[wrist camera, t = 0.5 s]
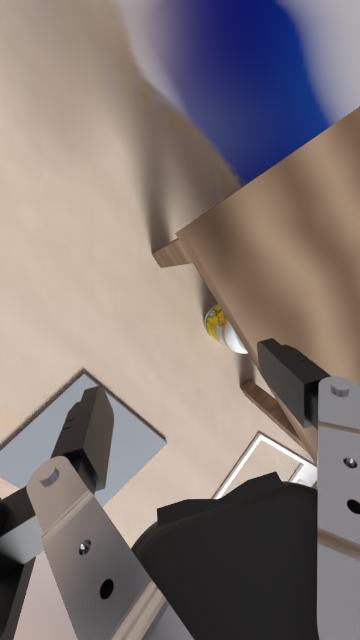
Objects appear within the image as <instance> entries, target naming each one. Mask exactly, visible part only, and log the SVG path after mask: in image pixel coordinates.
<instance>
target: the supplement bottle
mask: <svg viewBox="0 0 360 640" xmlns="http://www.w3.org/2000/svg"><path fill="white" fill-rule="evenodd" d="M204 324H205V329H206V331H207V333H208V334H209V336H211V337H212V338H213V339H215V340H216V341H218V342H220V343H221V344H223V345H225V346H226V347H228V348H230V349H231V350H233V351H235V352H237V353H242V354H246V353H248V352H247V350H246V349H245V347H244V345H243V344H242V342H241V341H240V339H239V337H238V336H237V334H236V332H235V331H234V329H233V327H232V326H231V324H230V322H229V321H228V319H227V318H226V316H225V314H224V313H223V311H222V309H221V308H220V306H219V304H217V305H215V306H213V307H212V308H211V309H210V310H209V312H208V313H207V315H206V317H205V321H204Z"/></svg>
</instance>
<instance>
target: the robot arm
mask: <svg viewBox="0 0 360 640" xmlns="http://www.w3.org/2000/svg"><path fill="white" fill-rule="evenodd" d="M257 352H258V362H259V369H260V373H261V375H262V377H263V379H264V380H265V381H266V382H267V384H268V385H269V386H270V387H271V389H272V390H273V391H274V392H275V393H276V395H277V396H278V397H279V398H280V400H281V401H282V402H283V403H284V405H285V406H286V407H287V408H288V409H289V411H290V412H291V413H292V414H293V416H294V417H295V418H296V419H297V421H298V422H299V423H300V424H301V425H302V427H303V428H304V429H305V428H309V427H312V426H314V427H315V428H316V429H317V430H318V433H317V490H316V489H313V488H311V487H309V486H306V485H303V484H299V483H294V482H282V481H281V480H280V478H279V476H278V474H277V472H272V473H269V474H266V475H263V476H260V477H257V478H253V479H250V480H247V481H246V482H244V483H243V484H241V485H240V486H238V487H237V488H235V489H234V490H232V491H231V492H229V493H228V494H227V495H225V496H224V497H222V498H219V499H187V500H183V501H180V502H177V503H174V504H171V505H168V506H164V507H161V508H158V509H157V519H158V521H157V522H155V523H154V524H152V525H151V526H150V527H149V528H148V529H147V530H146V531H145V532H144V533H143V534H142V535H141V536H140V537H139V538H138V540H137V541H136V542H135V544H134V545H133V547H132V548H131V549H130V547H129V546H128V544H127V543H126V542H125V540H124V539H123V537H122V536H121V534H120V533H119V531H118V530H117V529H116V527H115V526H114V524H113V523H112V521H111V520H110V518H109V517H108V515H107V514H106V513H105V511H104V510H103V508H102V507H101V505H100V504H99V502H98V501H97V499H96V498H95V497H94V495H95V492H96V491H99V490H102V489H105V486H106V479H107V471H108V464H109V456H110V449H111V442H112V434H113V427H114V413H113V409H112V406H111V404H110V402H109V400H108V397H107V395H106V393H105V390H104V388H103V387H102V385H99V386H95V387H91V388H88V389H85V390H84V393H83V395H82V398H81V401H80V402H76V403H75V404H74V406H73V407H72V408H71V409H70V410H69V412H68V414H67V417H66V419H65V423H64V424H63V427H62V431H61V432H60V435H59V437H58V440H57V442H56V445H55V447H54V450H53V453H52V455H51V458H50V459H49V460H47V461H46V462H44V463H43V464H42V465H40V466H39V467H38V468H37V469H36V470H35V472H34V473H33V474H32V476H31V477H30V479H29V481H28V483H27V486H25V487H23V488H22V489H20V490H18V491H17V492H15V493H13V494H11V495H10V496H8V497H6V498H4V499H3V500H2V499H1V498H0V640H13V639H14V635H15V631H16V628H17V624H18V620H19V617H20V613H21V609H22V606H23V602H24V598H25V595H26V591H27V588H28V584H29V580H30V576H31V572H32V569H33V566H34V562H35V558H36V556H37V555H38V554H40V553H41V552H42V551H45V553H46V556H47V559H48V561H49V564H50V566H51V569H52V572H53V575H54V577H55V580H56V583H57V585H58V588H59V591H60V593H61V596H62V599H63V602H64V604H65V607H66V610H67V612H68V615H69V618H70V620H71V623H72V626H73V628H74V631H75V634H76V636H77V639H78V640H360V385H359V384H357V383H356V382H354V381H352V380H350V379H347V378H343V377H336V376H334V377H332V376H331V375H329V374H328V373H327V372H326V371H324V370H323V369H322V368H320V367H319V366H318V365H317V364H315V363H314V362H313V361H311V360H309V358H308V357H306V356H305V355H303V353H301V352H300V351H299V350H297V349H296V348H294V347H291V346H288V345H286V344H285V345H281V344H280V343H278V342H277V341H276V340H275V339H274V338H270V339H266V340H263V341H259V342H257Z"/></svg>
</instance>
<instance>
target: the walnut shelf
mask: <svg viewBox="0 0 360 640" xmlns="http://www.w3.org/2000/svg"><path fill="white" fill-rule="evenodd" d="M175 234H176V235H177V237H178V238H177V239H175V240H173V241H172V242H170V243H168V244H167V245H165V246H163V247H162V248H160V249H159V250H158V251H156V252H155V253H153V254H152V255H153V257H154V258H155V260H156V261H157V263H158V264H159V266H160V267H161V268H163V267H170V266H176V265H182V264H189V263H194V265H195V267H196V268H197V270H198V272H199V273H200V275H201V276H202V278H203V280H204V281H205V283H206V285H207V286H208V288H209V290H210V291H211V293H212V295H213V296H214V298H215V299H216V301H217V303H218V304H219V306H220V308H221V309H222V311H223V313H224V314H225V316H226V318H227V319H228V321H229V322H230V324H231V326H232V327H233V329H234V331H235V332H236V334H237V336H238V337H239V339H240V341H241V342H242V344H243V345H244V347H245V349H246V350H247V352H248V354H249V355H250V357H251V359H252V360H253V362H254V364H255V365H256V367H257V369H258V370H259V372H260V369H259V362H258V352H257V342H259V341H263V340H266V339H270V338H274V339H275V340H276V341H277V342H278V343H280V344H281V345H285V344H286V345H288V346H291V347H294V348H296V349H297V350H299V351H300V352H301V353H303V355H305V356H306V357H308V358H309V360H311V361H313V362H314V363H315V364H317V365H318V366H319V367H320V368H322V369H323V370H324V371H326V372H327V373H328V374H329V375H331V376H332V377H334V376H336V377H343V378H347V379H350V380H352V381H354V382H356V383H357V384H359V385H360V107H359V108H357V109H356V110H354V111H353V112H351V113H350V114H348V115H347V116H346V117H344V118H343V119H341V120H340V121H338V122H337V123H335V124H334V125H332V126H331V127H330V128H328V129H327V130H325V131H324V132H322V133H321V134H320V135H318V136H316V137H315V138H314V139H312V140H311V141H309V142H308V143H306V144H305V145H303V146H302V147H301V148H299V149H298V150H296V151H295V152H293V153H292V154H290V155H289V156H287V157H286V158H284V159H283V160H282V161H280V162H279V163H277V164H276V165H274V166H273V167H271V168H270V169H268V170H267V171H266V172H264V173H263V174H261V175H260V176H258V177H257V178H255V179H254V180H252V181H251V182H250V183H248V184H247V185H245V186H244V187H242V188H241V189H239V190H238V191H236V192H235V193H234V194H232V195H231V196H229V197H228V198H226V199H225V200H223V201H222V202H220V203H219V204H218V205H216V206H215V207H213V208H212V209H210V210H209V211H207V212H206V213H204V214H203V215H202V216H200V217H199V218H197V219H196V220H194V221H193V222H191V223H190V224H188V225H187V226H186V227H184V228H183V229H181V230H180V231H178V232H177V233H175ZM265 382H266V381H265ZM266 383H267V382H266ZM267 385H268V384H267ZM268 387H269V388H270V390H271V392H272V393H273V395H274V396H275V398H276V399H275V398H273V397H272V396H271V395H269V394H268V393H267V392H265V391H264V390H263V389H261V388H260V387H259V386H258V385H256V384H255V383H254V382H252V381H251V380H249V381H247V382H246V383H245V384H244V385H243V386H241V387H240V388H241V390H242V391H243V393H244V394H245V396H246V397H247V398H248V399H249V400H251V401H252V402H253V403H254V404H255V405H256V406H257V407H258V408H259V409H260V410H261V411H263V412H264V413H265V414H266V415H267V416H268V417H269V418H270V419H271V420H272V421H274V422H275V423H276V424H277V425H278V426H279V427H280V428H281V429H282V430H283V431H284V432H286V433H287V434H288V435H289V436H290V437H291V438H292V439H293V440H294V441H295V442H297V443H298V444H299V445H300V446H301V447H302V448H303V449H304V450H305V451H306V452H307V453H309V454H310V456H311V457H312V459H313V461H314V462H315V464H316V466H317V433H318V430H317V429H316V428H315V427H314V426H312V427H309V428H305V429H304V428H303V427H302V425H301V424H300V423H299V422H298V421H297V419H296V418H295V417H294V416H293V414H292V413H291V412H290V411H289V409H288V408H287V407H286V406H285V405H284V403H283V402H282V401H281V400H280V398H279V397H278V396H277V395H276V393H275V392H274V391H273V390H272V389H271V387H270V386H269V385H268Z"/></svg>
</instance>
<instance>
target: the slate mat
mask: <svg viewBox="0 0 360 640" xmlns="http://www.w3.org/2000/svg"><path fill="white" fill-rule="evenodd" d="M95 386H99V384H98V383H97V382H96V381H95V380H93V379H92V378H91V377H90V376H89V375H87V374H86V373H85V372H84V373H83V374H82V375H81V376H80V377H79V378H78V379H77V380H76V381H74V382H73V383H72V384H71V385H70V386H69V387H68V388H67V389H66V390H65V391H64V392H63V393H62V394H60V395H59V396H58V397H57V398H56V399H55V400H54V401H53V402H52V403H51V404H50V405H49V406H47V407H46V408H45V409H44V410H43V411H42V412H41V413H40V414H39V415H38V416H37V417H36V418H34V419H33V420H32V421H31V422H30V423H29V424H28V425H27V426H26V427H25V428H24V429H23V430H22V431H20V432H19V433H18V434H17V435H16V436H15V437H14V438H13V439H12V440H11V441H10V442H9V443H7V444H6V445H5V446H4V447H3V448H2V449H1V450H0V477H1V478H2V479H4V480H6V481H8V482H9V483H11V484H13V485H15V486H16V487H18V488H20V489H22V488H23V487H25V486H27V483H28V481H29V479H30V477H31V476H32V474H33V473H34V472H35V470H36V469H37V468H38V467H39V466H40V465H42V464H43V463H44V462H46V461H47V460H49V459H50V458H51V455H52V453H53V450H54V447H55V445H56V442H57V440H58V437H59V435H60V432H61V431H62V427H63V424H64V423H65V419H66V417H67V414H68V412H69V410H70V409H71V408H72V407H73V406H74V404H75V403H76V402H80V401H81V398H82V395H83V393H84V390H85V389H88V388H91V387H95ZM104 390H105V389H104ZM105 393H106V395H107V397H108V400H109V402H110V404H111V406H112V409H113V413H114V427H113V434H112V442H111V449H110V456H109V464H108V471H107V479H106V486H105V489H102V490H99V491H96V492H95V495H94V497H95V498H96V499H97V501H98V502H99V504H100V505H101V507H103V506H104V505H105V504H106V503H107V502H108V501H109V500H110V499H111V498H112V497H113V496H115V495H116V494H117V493H118V492H119V491H120V490H121V489H122V488H123V487H124V486H125V485H126V484H127V483H128V482H129V481H130V480H131V479H132V478H133V477H134V476H135V475H136V474H137V473H138V472H139V471H140V470H141V469H142V468H143V467H144V466H145V465H146V464H147V463H148V462H149V461H150V460H151V459H152V458H153V457H154V456H155V455H156V454H157V453H158V452H159V451H160V450H161V449H162V448H163V447H164V446H165V445H166V444H167V441H166V440H165V439H164V438H163V437H161V436H160V435H159V434H158V433H157V432H155V431H154V430H153V429H152V428H151V427H149V426H148V425H147V424H146V423H145V422H143V421H142V420H141V419H140V418H139V417H137V416H136V415H135V414H134V413H133V412H132V411H130V410H129V409H128V408H127V407H126V406H124V405H123V404H122V403H121V402H120V401H118V400H117V399H116V398H115V397H114V396H112V395H111V394H110V393H109V392H108V391H106V390H105Z"/></svg>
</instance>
